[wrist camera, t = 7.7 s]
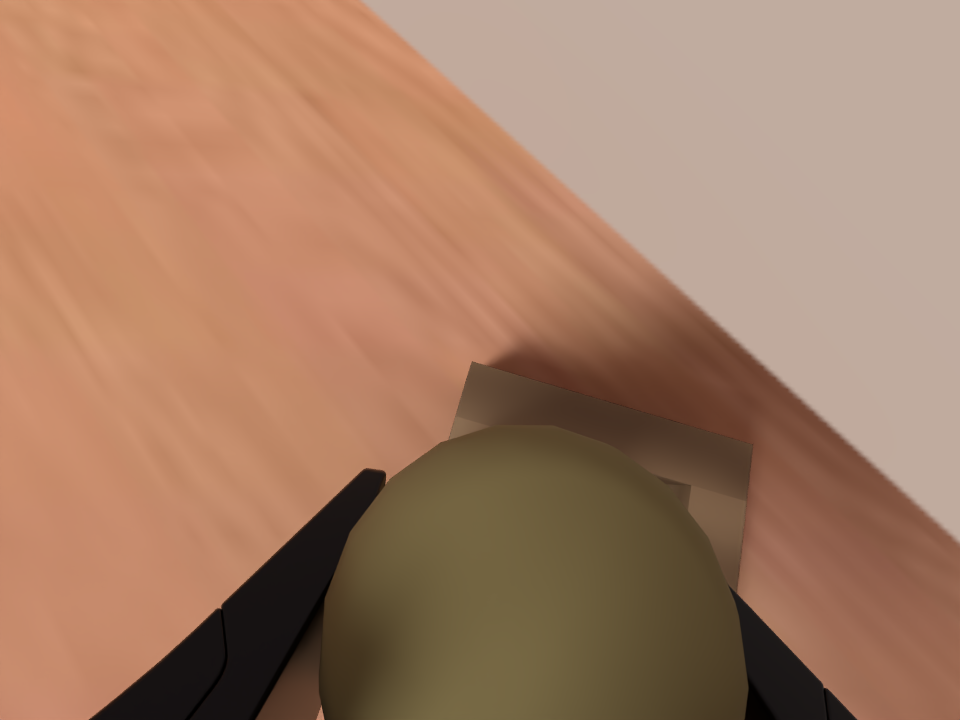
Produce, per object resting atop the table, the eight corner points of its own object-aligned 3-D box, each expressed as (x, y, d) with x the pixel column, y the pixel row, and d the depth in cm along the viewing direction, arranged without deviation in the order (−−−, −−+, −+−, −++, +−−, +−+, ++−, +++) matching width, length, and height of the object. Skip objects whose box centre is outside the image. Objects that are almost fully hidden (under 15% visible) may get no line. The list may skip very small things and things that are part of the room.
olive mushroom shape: (434, 413, 16) (433, 279, 5) (588, 494, 16) (914, 525, 5) (342, 582, 14) (65, 892, 4) (513, 675, 14) (762, 1298, 3)
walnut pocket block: (667, 736, 20) (714, 790, 16) (384, 657, 20) (373, 695, 16) (707, 449, 23) (753, 444, 20) (466, 378, 23) (472, 361, 20)
